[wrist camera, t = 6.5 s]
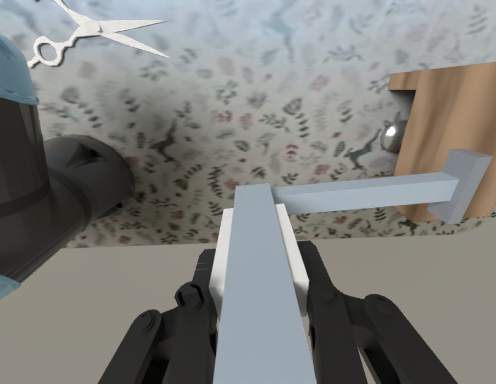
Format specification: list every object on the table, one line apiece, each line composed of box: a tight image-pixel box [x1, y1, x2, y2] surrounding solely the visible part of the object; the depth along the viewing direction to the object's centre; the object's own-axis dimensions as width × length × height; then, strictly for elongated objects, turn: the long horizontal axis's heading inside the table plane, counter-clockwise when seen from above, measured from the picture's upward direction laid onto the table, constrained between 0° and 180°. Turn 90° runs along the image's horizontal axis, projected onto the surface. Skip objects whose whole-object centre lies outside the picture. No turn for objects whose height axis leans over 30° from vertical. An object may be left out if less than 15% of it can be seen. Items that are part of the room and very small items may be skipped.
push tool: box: [213, 148, 493, 384], centre depth 11 cm, size 19×6×16 cm, turn 96°
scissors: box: [27, 0, 170, 68], centre depth 25 cm, size 11×1×20 cm
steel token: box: [381, 120, 408, 153], centre depth 31 cm, size 5×5×1 cm
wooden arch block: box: [369, 62, 496, 222], centre depth 27 cm, size 10×18×11 cm, turn 6°
